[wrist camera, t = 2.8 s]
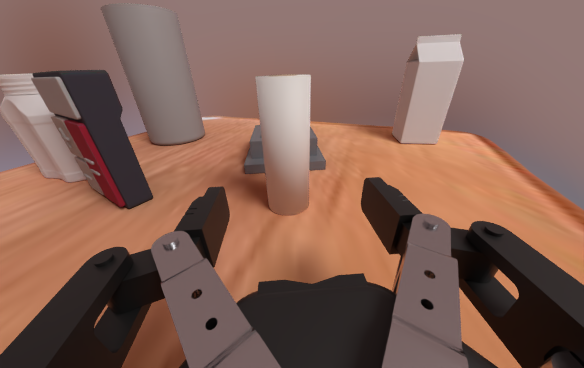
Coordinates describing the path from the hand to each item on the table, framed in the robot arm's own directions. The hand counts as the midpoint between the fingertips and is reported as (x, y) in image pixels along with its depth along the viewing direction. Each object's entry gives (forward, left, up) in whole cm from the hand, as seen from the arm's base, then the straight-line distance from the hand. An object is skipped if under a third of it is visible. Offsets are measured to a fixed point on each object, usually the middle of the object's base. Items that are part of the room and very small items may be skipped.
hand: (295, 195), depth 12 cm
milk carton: (+29, +33, -8) cm, 45 cm away
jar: (-35, +26, -8) cm, 45 cm away
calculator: (-23, +16, -8) cm, 29 cm away
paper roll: (0, +11, -8) cm, 14 cm away
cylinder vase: (-26, +43, -8) cm, 51 cm away
